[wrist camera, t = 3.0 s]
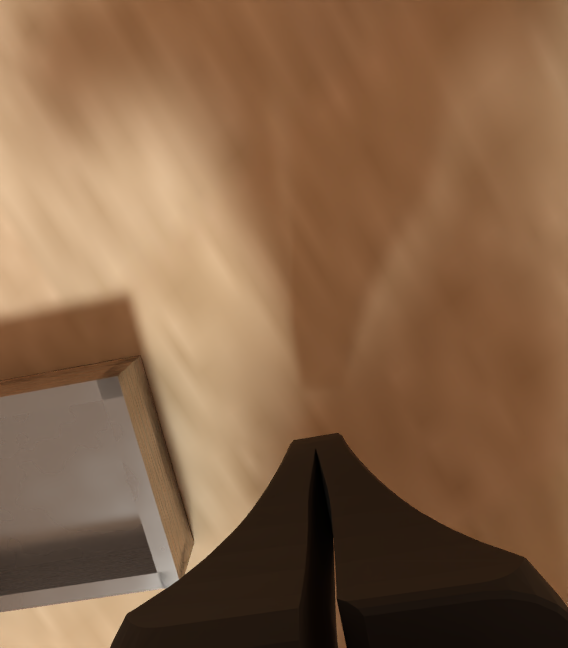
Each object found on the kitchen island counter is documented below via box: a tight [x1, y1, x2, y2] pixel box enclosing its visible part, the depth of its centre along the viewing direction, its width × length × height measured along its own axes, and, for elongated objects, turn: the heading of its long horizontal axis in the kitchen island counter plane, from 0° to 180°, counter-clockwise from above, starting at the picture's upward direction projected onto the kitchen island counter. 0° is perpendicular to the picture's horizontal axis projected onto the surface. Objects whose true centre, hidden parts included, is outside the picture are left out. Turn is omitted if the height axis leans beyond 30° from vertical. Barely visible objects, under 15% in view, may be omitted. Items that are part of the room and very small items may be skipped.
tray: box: [0, 356, 194, 612], centre depth 14 cm, size 10×7×2 cm
